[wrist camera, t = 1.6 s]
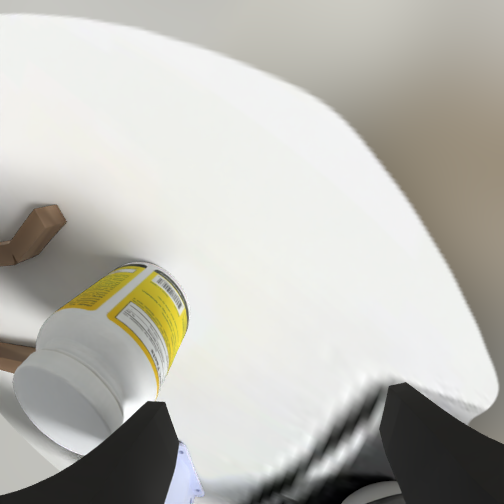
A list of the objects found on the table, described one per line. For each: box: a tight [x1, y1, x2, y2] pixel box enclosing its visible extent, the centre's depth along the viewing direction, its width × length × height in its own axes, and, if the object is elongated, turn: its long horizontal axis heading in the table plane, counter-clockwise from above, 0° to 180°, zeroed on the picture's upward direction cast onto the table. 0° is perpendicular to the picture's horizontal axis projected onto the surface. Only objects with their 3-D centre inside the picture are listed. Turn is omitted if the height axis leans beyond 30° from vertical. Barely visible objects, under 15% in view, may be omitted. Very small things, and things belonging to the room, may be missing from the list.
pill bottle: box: [13, 262, 190, 456], centre depth 13 cm, size 6×6×11 cm
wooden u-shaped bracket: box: [0, 205, 67, 373], centre depth 18 cm, size 15×15×2 cm
